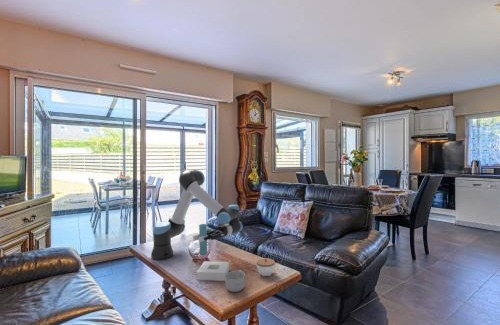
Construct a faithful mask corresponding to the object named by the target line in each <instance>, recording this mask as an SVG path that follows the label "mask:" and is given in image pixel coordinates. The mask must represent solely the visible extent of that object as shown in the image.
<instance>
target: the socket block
mask: <svg viewBox="0 0 500 325" xmlns="http://www.w3.org/2000/svg"><path fill="white" fill-rule="evenodd" d="M228 272H230V262H229V261H206V260H205V261H202V264H201V265H200V267H199V268H198V270H197V271H196V281H218V282H222V281H223V282H225V274H226V273H228Z"/></svg>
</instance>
